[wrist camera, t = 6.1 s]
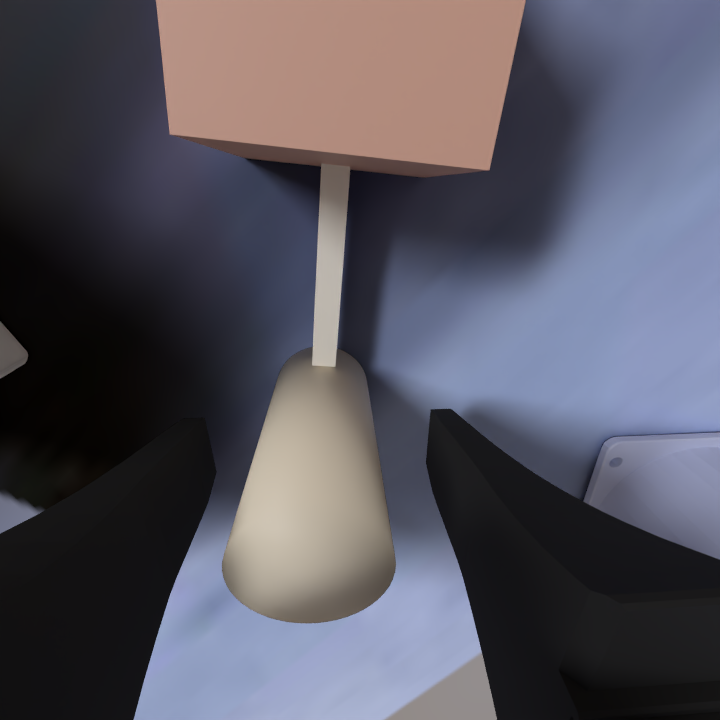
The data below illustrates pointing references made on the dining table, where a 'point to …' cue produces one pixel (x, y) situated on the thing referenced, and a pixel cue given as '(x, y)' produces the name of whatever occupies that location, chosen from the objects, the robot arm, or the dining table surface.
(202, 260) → the dining table surface
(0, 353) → the ink box
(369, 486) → the pink handled block
